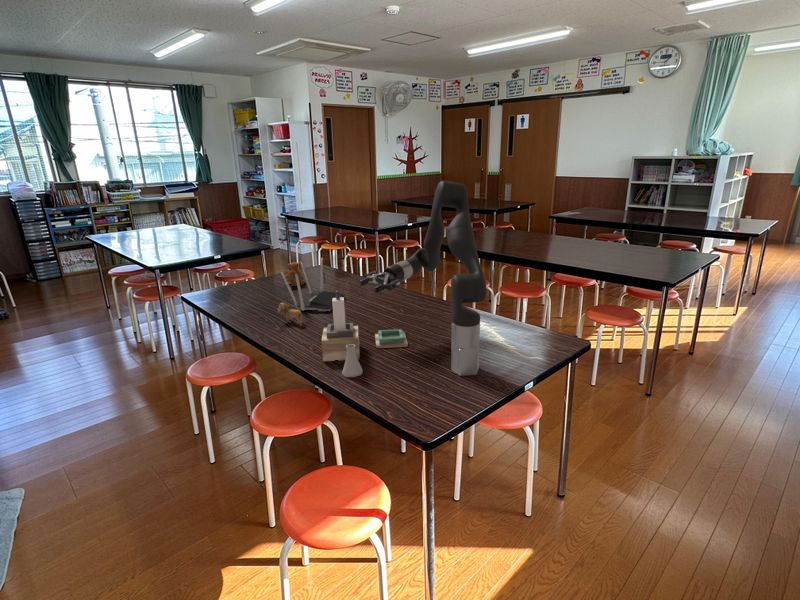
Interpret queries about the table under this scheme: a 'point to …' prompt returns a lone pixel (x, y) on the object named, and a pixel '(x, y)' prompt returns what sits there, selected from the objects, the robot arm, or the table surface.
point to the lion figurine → (290, 312)
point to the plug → (339, 313)
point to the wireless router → (313, 294)
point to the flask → (351, 363)
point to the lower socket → (390, 338)
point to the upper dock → (339, 342)
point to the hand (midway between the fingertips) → (367, 286)
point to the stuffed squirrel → (291, 275)
